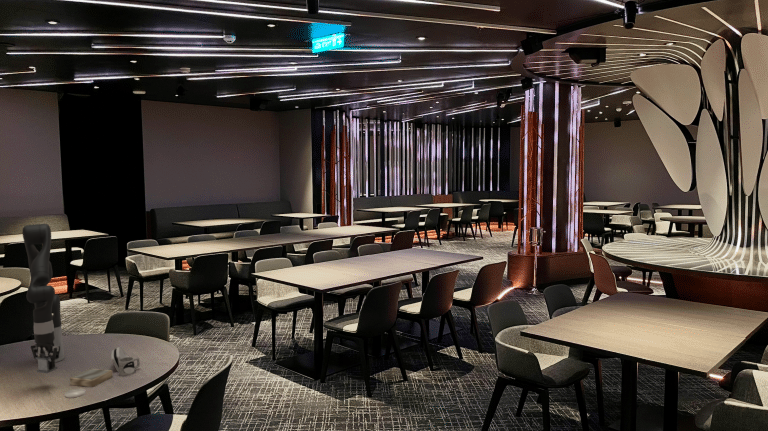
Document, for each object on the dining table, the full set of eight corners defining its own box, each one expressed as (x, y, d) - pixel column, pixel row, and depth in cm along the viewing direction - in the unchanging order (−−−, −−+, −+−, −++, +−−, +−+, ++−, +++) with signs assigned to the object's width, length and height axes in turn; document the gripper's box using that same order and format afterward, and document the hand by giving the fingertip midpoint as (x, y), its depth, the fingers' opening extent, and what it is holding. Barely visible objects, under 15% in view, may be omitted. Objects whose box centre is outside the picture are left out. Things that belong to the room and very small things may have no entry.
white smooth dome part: (60, 398, 238) (59, 395, 238) (74, 390, 246) (74, 387, 246) (76, 399, 236) (75, 396, 236) (90, 391, 244) (90, 389, 244)
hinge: (129, 370, 267) (120, 352, 265) (119, 375, 266) (109, 357, 264) (131, 359, 283) (122, 341, 281) (121, 363, 281) (112, 346, 279)
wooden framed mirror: (70, 384, 251) (70, 377, 251) (90, 374, 263) (90, 368, 262) (93, 387, 248) (92, 380, 248) (112, 376, 260) (112, 370, 259)
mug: (124, 376, 260) (123, 362, 259) (116, 374, 263) (115, 360, 262) (144, 369, 268) (143, 356, 267) (135, 367, 272) (134, 354, 271)
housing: (36, 372, 247) (35, 355, 246) (47, 367, 252) (46, 351, 252) (47, 373, 246) (45, 356, 245) (57, 368, 251) (56, 352, 250)
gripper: (23, 332, 245) (26, 370, 247) (50, 334, 242) (53, 373, 244) (37, 327, 252) (41, 363, 254) (64, 329, 249) (67, 366, 251)
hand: (47, 368), depth 249 cm, fingers closed on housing, 4 cm apart
